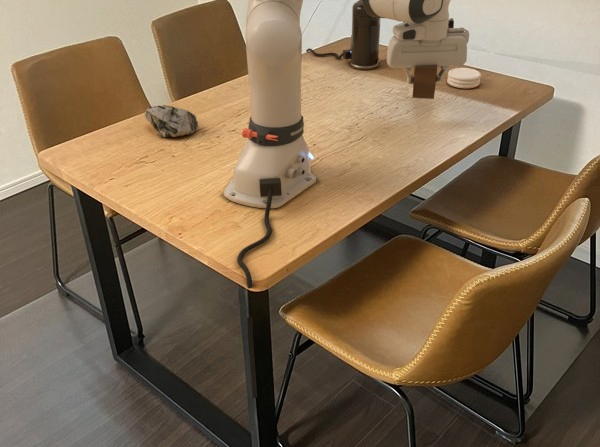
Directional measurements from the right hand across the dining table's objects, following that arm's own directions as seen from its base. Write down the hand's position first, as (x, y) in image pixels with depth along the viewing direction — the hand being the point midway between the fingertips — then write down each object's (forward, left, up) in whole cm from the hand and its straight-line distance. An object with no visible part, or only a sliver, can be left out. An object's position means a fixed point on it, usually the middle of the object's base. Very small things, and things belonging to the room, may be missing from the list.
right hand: (424, 56), depth 175 cm
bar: (+7, -5, -4) cm, 10 cm away
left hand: (+15, -10, -2) cm, 18 cm away
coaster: (-6, +19, -13) cm, 24 cm away
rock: (-10, -72, -13) cm, 74 cm away
